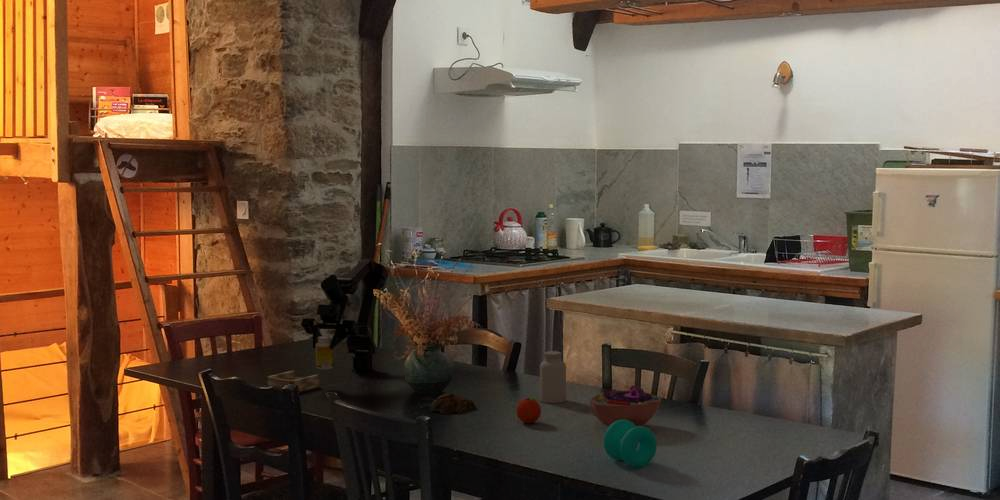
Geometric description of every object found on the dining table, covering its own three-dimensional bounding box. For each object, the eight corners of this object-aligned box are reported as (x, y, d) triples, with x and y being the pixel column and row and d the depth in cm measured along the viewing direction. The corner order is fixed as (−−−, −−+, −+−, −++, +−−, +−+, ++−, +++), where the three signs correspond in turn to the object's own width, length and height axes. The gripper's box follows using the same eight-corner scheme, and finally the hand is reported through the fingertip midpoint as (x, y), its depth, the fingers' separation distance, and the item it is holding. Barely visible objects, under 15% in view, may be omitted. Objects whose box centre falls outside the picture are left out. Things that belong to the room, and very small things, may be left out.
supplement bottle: (334, 369, 331) (334, 337, 330) (317, 370, 329) (316, 338, 328) (331, 365, 336) (331, 334, 335) (314, 367, 334) (313, 335, 333)
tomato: (538, 418, 293) (538, 393, 292) (548, 424, 286) (548, 399, 286) (512, 421, 290) (512, 396, 289) (521, 427, 283) (521, 401, 283)
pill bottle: (535, 402, 312) (535, 353, 311) (546, 397, 319) (546, 349, 318) (559, 405, 308) (559, 355, 307) (570, 399, 316) (570, 351, 314)
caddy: (292, 382, 341) (292, 370, 341) (319, 386, 334) (319, 374, 334) (265, 389, 331) (265, 376, 331) (292, 393, 325) (292, 381, 324)
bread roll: (446, 403, 313) (445, 387, 313) (480, 408, 307) (480, 391, 306) (421, 412, 302) (421, 395, 302) (456, 417, 296) (456, 400, 295)
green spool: (634, 455, 256) (634, 416, 255) (659, 465, 247) (659, 425, 246) (601, 461, 251) (601, 421, 251) (624, 472, 243) (625, 430, 242)
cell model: (578, 423, 287) (579, 383, 286) (642, 417, 294) (642, 378, 293) (606, 438, 271) (606, 396, 270) (672, 431, 278) (673, 390, 277)
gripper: (302, 293, 337) (287, 332, 327) (354, 295, 331) (340, 335, 322) (314, 313, 345) (299, 352, 336) (365, 315, 339) (351, 355, 330)
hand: (322, 348), depth 331 cm, fingers closed on supplement bottle, 6 cm apart
